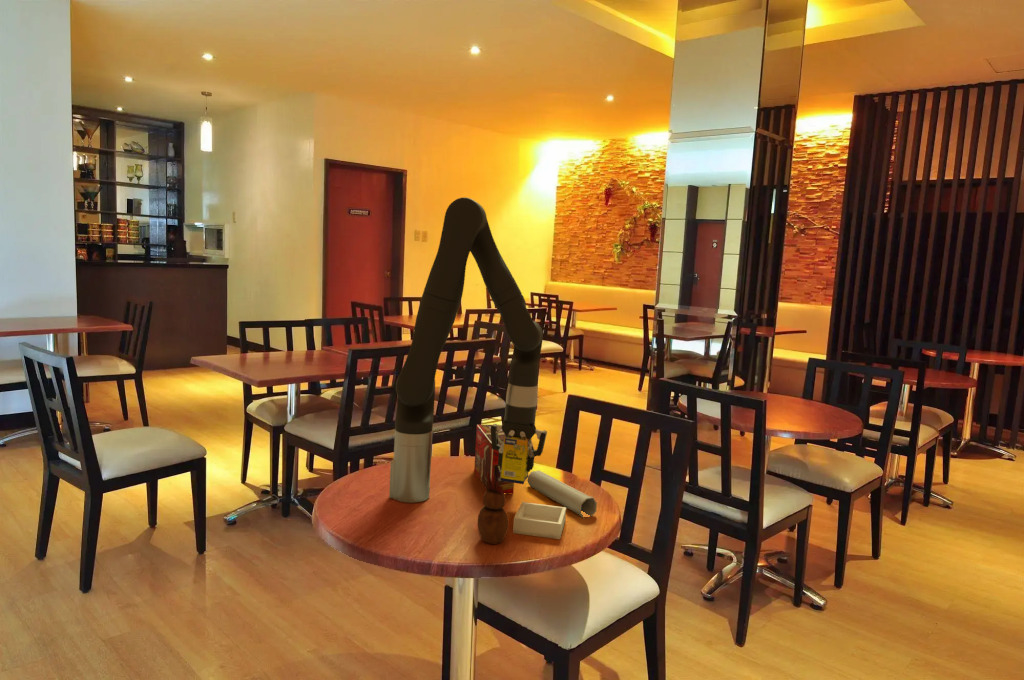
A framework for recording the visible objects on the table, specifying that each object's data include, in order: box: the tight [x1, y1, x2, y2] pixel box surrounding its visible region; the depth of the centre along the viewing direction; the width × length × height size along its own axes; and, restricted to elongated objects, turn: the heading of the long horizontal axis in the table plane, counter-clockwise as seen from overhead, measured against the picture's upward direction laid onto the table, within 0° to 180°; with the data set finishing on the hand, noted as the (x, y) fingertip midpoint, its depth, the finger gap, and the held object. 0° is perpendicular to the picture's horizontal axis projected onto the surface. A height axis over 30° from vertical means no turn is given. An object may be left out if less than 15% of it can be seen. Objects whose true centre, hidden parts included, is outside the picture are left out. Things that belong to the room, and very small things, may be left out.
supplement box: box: [501, 436, 533, 485], centre depth 170 cm, size 6×6×11 cm
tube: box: [526, 470, 598, 519], centre depth 178 cm, size 5×5×25 cm
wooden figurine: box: [477, 472, 509, 545], centre depth 149 cm, size 7×6×15 cm
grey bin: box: [512, 501, 567, 540], centre depth 159 cm, size 11×11×4 cm
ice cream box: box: [473, 424, 515, 494], centre depth 188 cm, size 20×6×13 cm, turn 14°
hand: (515, 468), depth 171 cm, fingers closed on supplement box, 6 cm apart
